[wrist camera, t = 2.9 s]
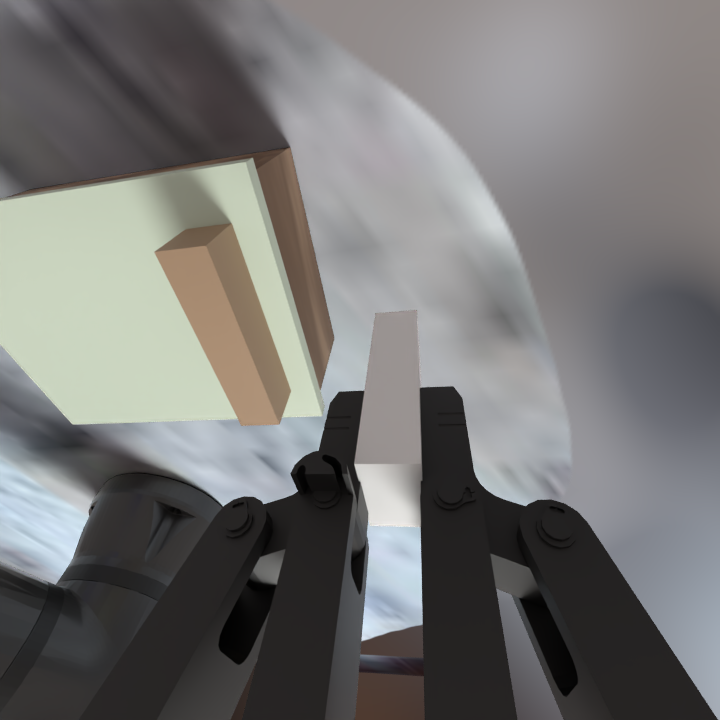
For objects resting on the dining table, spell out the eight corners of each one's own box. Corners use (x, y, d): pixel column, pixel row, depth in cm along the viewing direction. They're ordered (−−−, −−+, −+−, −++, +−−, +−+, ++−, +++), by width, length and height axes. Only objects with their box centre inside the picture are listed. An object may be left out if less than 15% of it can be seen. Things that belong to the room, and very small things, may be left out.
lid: (81, 415, 24) (43, 455, 22) (-94, 213, 16) (-183, 239, 14) (324, 406, 21) (313, 450, 19) (253, 158, 14) (218, 176, 11)
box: (136, 352, 29) (83, 406, 24) (31, 189, 22) (-72, 222, 17) (334, 338, 26) (318, 396, 21) (290, 147, 19) (252, 171, 14)
